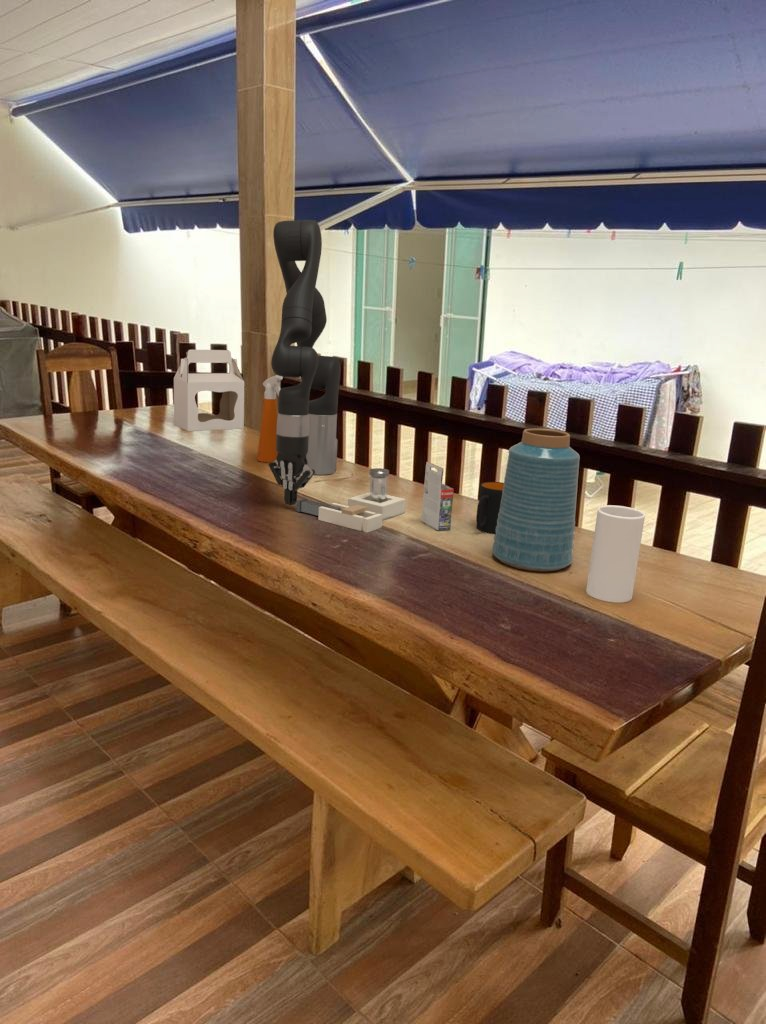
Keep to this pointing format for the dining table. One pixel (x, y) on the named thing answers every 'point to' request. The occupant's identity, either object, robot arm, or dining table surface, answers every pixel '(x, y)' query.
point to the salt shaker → (378, 485)
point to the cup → (615, 553)
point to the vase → (538, 503)
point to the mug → (489, 506)
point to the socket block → (380, 505)
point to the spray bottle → (269, 421)
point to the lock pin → (311, 506)
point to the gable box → (216, 382)
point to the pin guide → (351, 517)
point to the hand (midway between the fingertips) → (290, 504)
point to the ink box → (436, 499)
